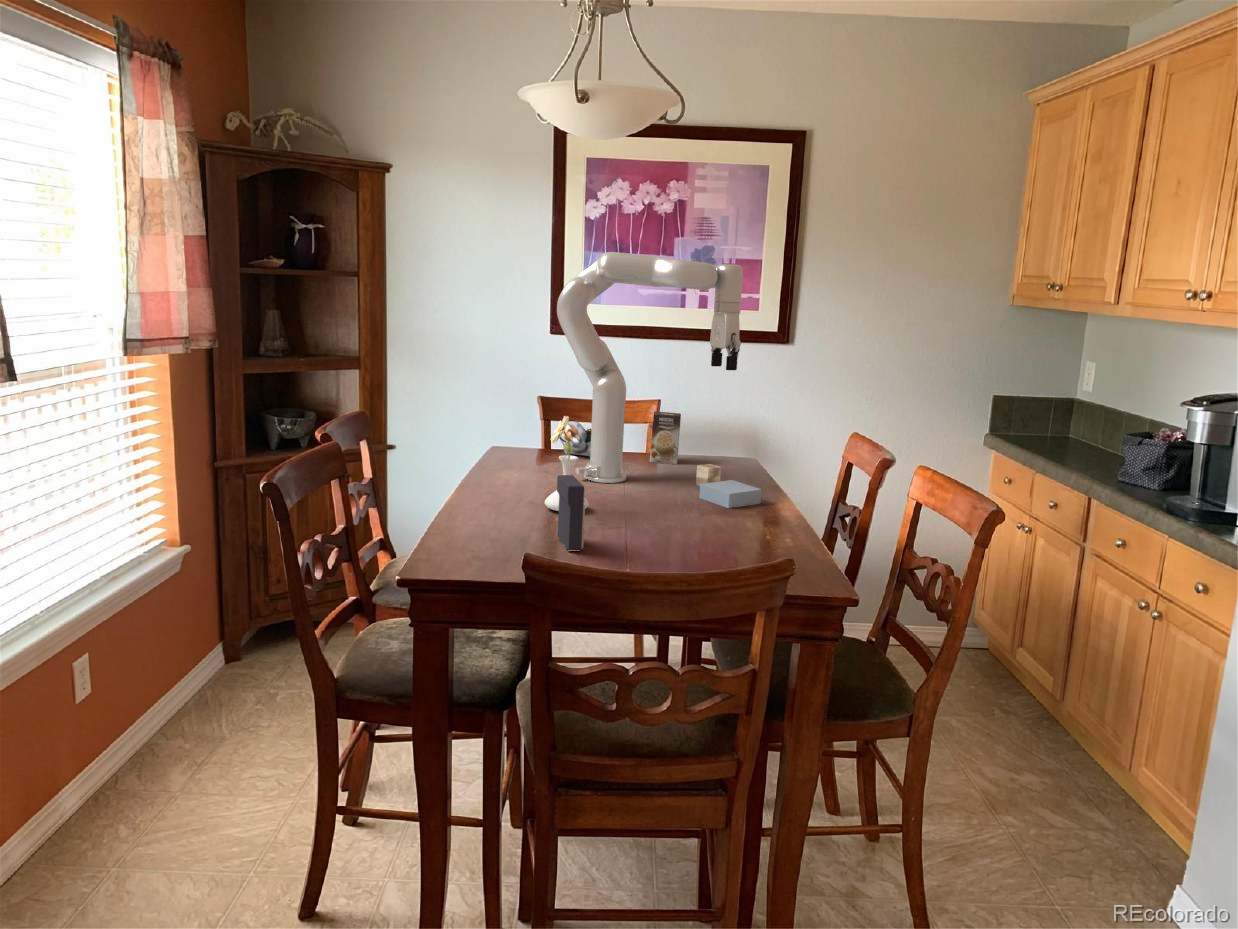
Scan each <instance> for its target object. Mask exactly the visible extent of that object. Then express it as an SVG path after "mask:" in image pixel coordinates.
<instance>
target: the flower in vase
mask: <svg viewBox="0 0 1238 929" xmlns="http://www.w3.org/2000/svg"><path fill="white" fill-rule="evenodd" d="M569 419H570V417H569V415H567V416H566V415H564V416H563V418H562V419H561V420H562V421H561V420H559V422H558V425H557V427H556V428H555V429H554V430H553V434H554V435H552V437H551V438H550V441H551V442H550V443H551V444H555V443H557V441H558V440H560V437H561V435H562V434H563V433H564V434H565V436H566V438H567V442H566V443H565V445H564V448H563V450H564V449H565V450H566V451H567V454H564V455H559V456H558V459H559V460H560V462H561V465H562V472H563V474H562V475H573V472H574V467H575V464H576V462H577V461H578V460H579V457H578V456H577V455H576V456H575V455H571V454H570V453H571V452H572V451H573V448H572V447H571V446H570V442H569V439H568V437H567V435H566V433H565V429H566V427H567V425H568V421H569V422H570V420H569ZM568 453H569V454H568ZM589 504H590V503H589V500H587V498H586V497H585V502H584V505H585V510H586V509H587V508H588V506H589ZM544 505H545V506H546V507H547V508H548V509H550V510H553V511H557V512H559V493H558V492H557V489H556V490H555V491H553V492H552V493H551V494H550V495H548V496H547V497H546V498H545V500H544Z"/></svg>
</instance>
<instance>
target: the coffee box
mask: <svg viewBox="0 0 1238 929" xmlns="http://www.w3.org/2000/svg"><path fill="white" fill-rule="evenodd" d="M652 417H653V418H652V430H651V431H652V432H651V442H650V453H649V454H650V455H649V463H655V464H668V465H677V464H678V458H679V456H678V455H679V446H680V431H681V421H682V420H681V418H682V414H681V413H680V412H679V413H678V412H670V411H669V412H666V411H653V416H652Z"/></svg>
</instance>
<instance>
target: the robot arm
mask: <svg viewBox="0 0 1238 929" xmlns="http://www.w3.org/2000/svg"><path fill="white" fill-rule="evenodd" d="M743 274H744V270H743V266H741V265H739V264H732V263H731V264H728V263H727V264H726V263H723V264H712V263H709V262H702V261H692V260H681V259H680V260H679V259H673V258H666V257H663V256H658V255H657V256H656V255H649V254H648V255H647V254H636V253H629V252H628V253H627V252H617V251H608V252H605V253H603V254H602V255H601V256H600V257H599V258H598V259H597V260H596V261H594V262H593V263H592V264H591V265H589V266H588V267H587V268H586V269H584V270H583V271H582V272H581V273H579V274H578V275H576V276H575V277H573V278H571V279H570V280H569V281H568V282H567V283H566V284H565V285H564V287H563V289H562V291H561V292H560V294H559V297H558V298H557V304H556V314H557V320H558V324H559V325H560V327H561V329H562V332H563V333H564V335H565V338H566V339H567V341H568V344H569V345H570V347H571V350H572V351H573V354H574V356H575V358H576V361H577V363H578V365H579V366H580V367H581V368H582V369H583V371H584V372H585V375H586V376H587V378H588V380H589V382H590V384H591V386H592V402H591V403H592V405H591V406H592V408H591V409H592V410H591V450H590V457H589V462H587V463H586V465H585V466H584V467H583V466H580V467H576V468H575V474H576V475H582V474H583V478H584V479H586V480H587V479H588V480H587V481H590V480H591V482H595V483H604V484H607V483H608V484H614V483H615V484H616V483H622V482H625V481H626V480H627V475H626V473H624V472H622V470H623V468H622V467H623V451H624V450H623V449H624V435H625V434H624V429H625V415H626V414H625V412H626V411H625V410H626V399H627V384H626V380H625V377H624V375H623V373H622V372H621V370H620V368H619V366H618V364H617V362H616V359H615V358H614V356H613V354H612V352H611V350H610V349H609V347H608V345H607V344H606V342H605V341H604V340H603V339H601V338H600V336H599V334H598V333H597V330H596V329H595V326H594V324H593V321H592V320H591V318H590V316H589V314H588V306H589V305H590V304H591V303H592V301H595V299H596V298H597V297H599V296H600V295H602V294H603V293H604V292H606V291H607V290H608V289H609V288H611V287H612V286H613V285H614V284H625V285H635V286H645V287H657V288H664V287H666V288H667V287H668V288H679V289H689V290H700V291H707V290H710V289H715V290H714V303H713V304H714V305H713V315H712V316H713V317H712V321H711V327H710V329H711V330H710V335H709V336H710V339H709V345H710V346H711V349H710V351H711V362H710V366H711V367H722V365H723V364H722V363H723V362H722V361H723V352H722V350H724V349H726V352H727V356H726V362H725V370H726V371H737V370H738V359H739V358H738V357H739V355H740V354H739V352H740V349H741V344H742V342H741V340H740V330H741V328H740V315H741V309H742V308H741V305H742V291H743V290H742V289H743Z"/></svg>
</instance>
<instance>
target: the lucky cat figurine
mask: <svg viewBox="0 0 1238 929" xmlns="http://www.w3.org/2000/svg"><path fill="white" fill-rule="evenodd" d="M562 420H563V419H560V421H562ZM591 429H592V427H588V428H587V429H585V427H584V426H583V425H582V424H581V423H580V422H579V421H573V420H572V421H570V420H569V421H568V425H567V427H566V429H565V433H566V435H567V437H568V439H569V442H570V446H571V447H572V448H573V451H572V452H571V453H570V455H576V456H577V455H578V456H585V457H589V458H590V450H591ZM559 441H560V443H561V444H562V445H563V446H562V447H563V452H564V455H566V454H567V451H566V450H565V449H564V445H565V443H566V442H567V438H566V436H565V434H564V433H563V434H562V435H561V437H560V438H559ZM567 455H569V453H568V454H567Z"/></svg>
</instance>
